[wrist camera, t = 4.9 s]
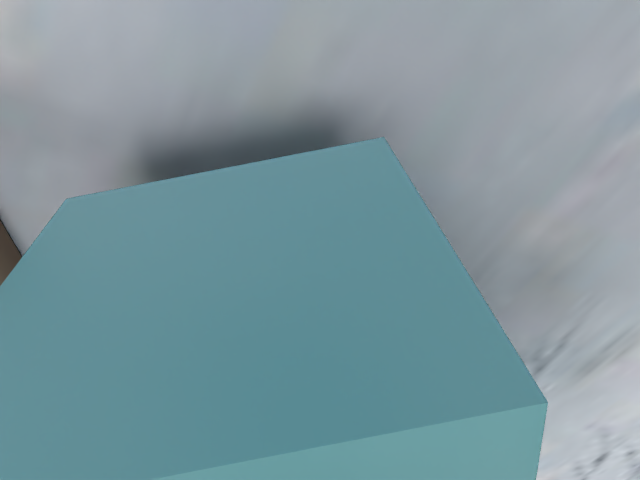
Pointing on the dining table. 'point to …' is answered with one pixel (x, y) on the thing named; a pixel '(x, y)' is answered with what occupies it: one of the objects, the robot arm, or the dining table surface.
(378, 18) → the dining table surface
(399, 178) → the teal rectangular block
